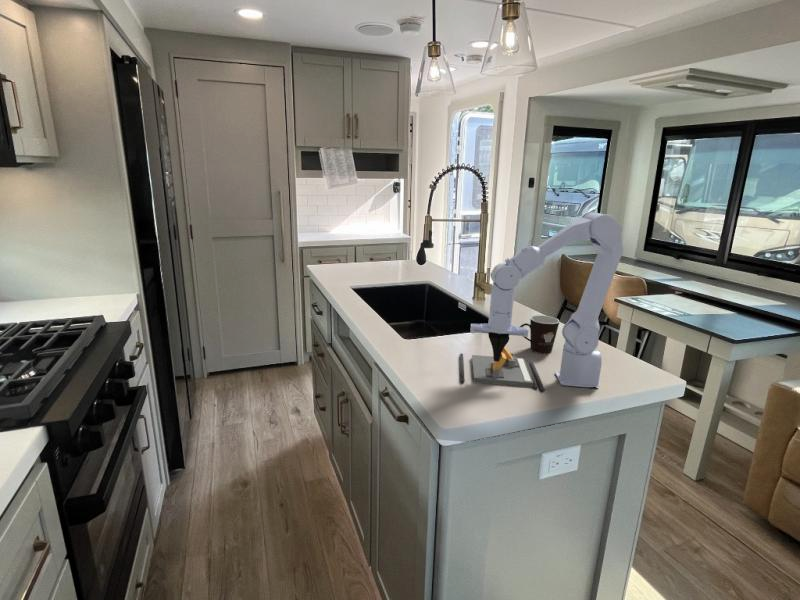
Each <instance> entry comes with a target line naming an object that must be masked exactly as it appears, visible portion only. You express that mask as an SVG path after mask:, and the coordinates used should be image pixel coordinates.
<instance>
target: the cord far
mask: <svg viewBox="0 0 800 600" xmlns="http://www.w3.org/2000/svg"><path fill="white" fill-rule="evenodd" d="M464 365H465V363H464V354H463V353H461V352H460V354H459V367H460V368H459V369H460V373H459V375H460V383H462V384H464V383H465V381H466V380H465V379H466V378H465V366H464Z"/></svg>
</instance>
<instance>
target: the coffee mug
mask: <svg viewBox="0 0 800 600" xmlns="http://www.w3.org/2000/svg"><path fill="white" fill-rule="evenodd" d="M529 319H530V322H529V323H530V324H529V323H522V324H521V325H520V326H519V327H525V326H528V327H529V329H530V330H529V331H530V334H529V335H530V338H528V337H523V338H524V339H525V340H527V341H529V343H530V350H531V351H532V352H534V353H538V354H541V355H542V354H543V355H544V354H545V355H548V354H552V352H553V348H554V344H555V340H556V337H557V332H558V328H559V325H560V320H559V319H558V318H556V317H553V316H550V315H540V314H539V315H538V314H537V315H532V316H530V317H529Z"/></svg>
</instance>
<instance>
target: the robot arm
mask: <svg viewBox="0 0 800 600" xmlns="http://www.w3.org/2000/svg"><path fill="white" fill-rule="evenodd" d="M622 230H623V227H622V226H621V224H620V222H619V221H618V220H617V218H616V217H614V216H613V215H611V214H603V213H599V212H596V211H587V212H586V213H584V214H583V215H582V216H581V217H580V216H579V217H576V218H574V220H572V221H571V222H570V223H569V224H568V225H566V226H565V227H562V228H561V229H560V230H559V231H558V232H556V233H555V234H553V235H552V236H550V237H549V238H548V239H546V240H545V241H544V242H542V243H541V244H540V245H538V246H535V245H534V246H533V245H529V246H528V247H527V246H523V247H521V248H520V252H518V253H517V254H515V255H514V256H512V257H511V258H506V259H505V260H504V262H502V263H497V264H496V265H495V266H494V267H493V268H492V270H491V272H490V279H491V280H492V285H491V295H490V302H489V303H490V304H489V314H488V315H489V316H488V323H470V333H471V334H476V333H477V334H487V335H488V338H489V341H490V344H491V347H492V356H493V359H494V361H499V358H500V355H501V353H502V351H503V349H504V347H506V345H507V344H508V342H509V341H510V336H517V337H522V338H524V337H527V338H528V336H529V329H528V327H525V326H523V327H520V326H517V325H512V317H513V310H514V301H515V300H514V299H515V288H516V287H517V286H518V284H519V282H520V280H522V279H523V278H525V277H526V276H528V275H530V274H531V273H533V272H534V271H536V270H537V269H539V268H541V267H542V266H544V263H545V262H546V258H547V257H549V256H551V255H552V254H554V253H555V252H558V251H559V250H561V249H563V248H564V247H566V246H567V245H570V244H571V243H573V242H576V241H583V242H585V241H590V242H591V244H592V246H593V247H594V248H595V251H596V252H597V254H596V256H595V260H594V261H593V266H592V268H591V271H590V274H589V277H588V278H587V282H586V285H585V287H584V290H583V293H582V295H581V299H580V301H579V304H578V306H577V310H576V311H574V312H572V314H571V315H570V318H569V319H568V321H567V322H566V323H565V324H564V325H563V327H562V329H561V330H562V331H561V333H562V337H563V338H564V340H565V341H564V344H563V346H562V355H561V361H560V362H561V363H560V369H559V371H555V372H554V373H555V376H556V378H557V379H558V381H559V383H560V385H561V386H565V387H566V386H568V387H569V386H570V387H581V388H590V387H599V388H600V386H599V382H600V375H601V371H602V370H601V368H602V354H601V352H600V351H599V350H596V349H597V348H598V346H599V342H600V341H599V340H600V339H599V333H600V330H601V329H600V328H601V327H600V323H599V318H600V317H599V316H600V314H601V311H602V309H603V306H604V304H605V301H606V298H607V295H608V293H609V291H610V287H611V284H612V282H613V280H614V277H615V273H616V272H617V270H618V269H617V268H618V265H619V263H620V261H621V258H622V255H623V251H624V248H623V240H622V235H621V232H622Z"/></svg>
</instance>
